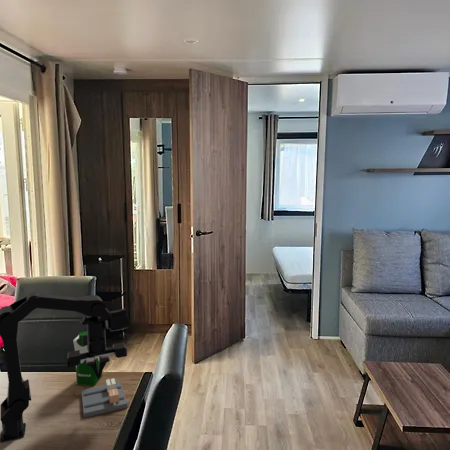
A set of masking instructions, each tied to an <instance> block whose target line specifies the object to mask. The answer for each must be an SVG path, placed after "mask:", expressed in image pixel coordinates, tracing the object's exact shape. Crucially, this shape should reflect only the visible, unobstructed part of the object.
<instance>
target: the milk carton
mask: <svg viewBox="0 0 450 450" xmlns="http://www.w3.org/2000/svg"><path fill="white" fill-rule="evenodd" d="M82 336H87V330H86V331H84V330H83V331H81V332H79V333H78V335H77V336H76V337H75V338H74V339H73V340H72V341H73V347H74V351H77V350H80V354H81V353H87V352H88V349H87V345H84V346H83V344H82ZM95 360H96V365H97V369H99V357H95ZM75 372H76V385H77V386H92V387H93V386H95V387H96V385H97V384H98V382H99V381H100V380H101V378H102V377H103V373H102V374H101V377H100V378H99V379H97V376H96V374H95V372H94V370H93V369H92V368H91V366H90V365H89V366H87V364H86V359H83V360H81V363H80V364H79V365H77V366H75Z"/></svg>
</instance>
